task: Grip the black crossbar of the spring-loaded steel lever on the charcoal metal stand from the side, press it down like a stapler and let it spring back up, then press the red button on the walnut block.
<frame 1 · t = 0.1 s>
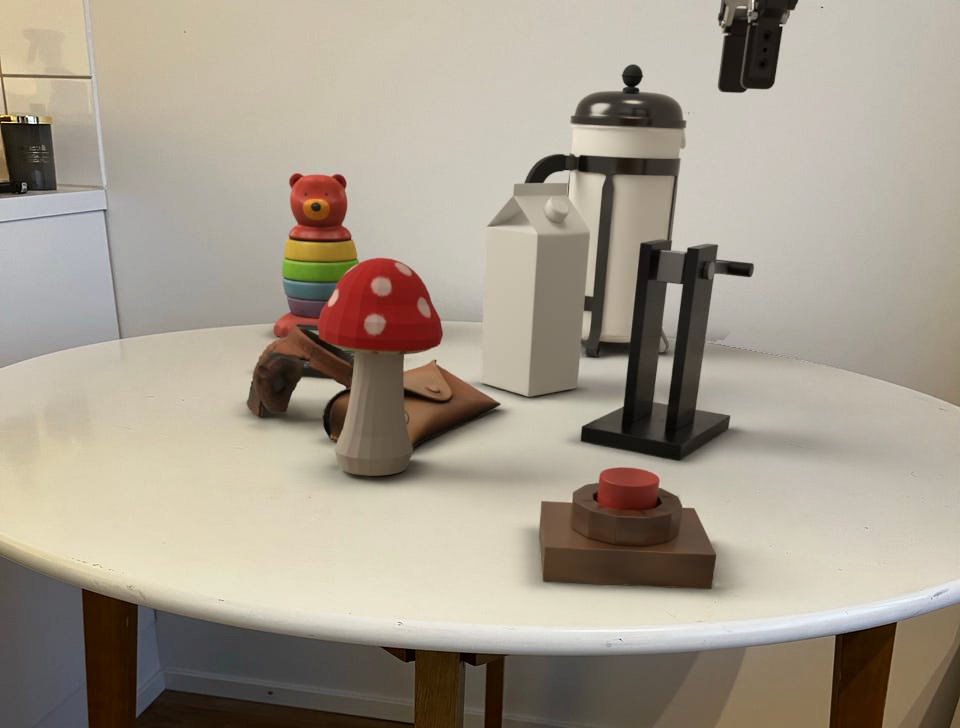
hand: (743, 90, 73), 27 cm above the table, tool pointing down, fingers open, 8 cm apart
lever stand: (656, 435, 89), on the table
calculator: (323, 366, 109), on the table
coffee press: (599, 349, 123), on the table
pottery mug: (298, 415, 91), on the table
stacking bear: (322, 333, 125), on the table
decorative mushroom: (373, 468, 78), on the table
button block: (620, 559, 64), on the table
milk carton: (528, 388, 104), on the table
sunglasses case: (418, 425, 90), on the table
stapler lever: (700, 267, 87), point 14 cm above the table, hinge at -5.0°
red button: (628, 490, 62), point 5 cm above the table, slide at 0.2 cm
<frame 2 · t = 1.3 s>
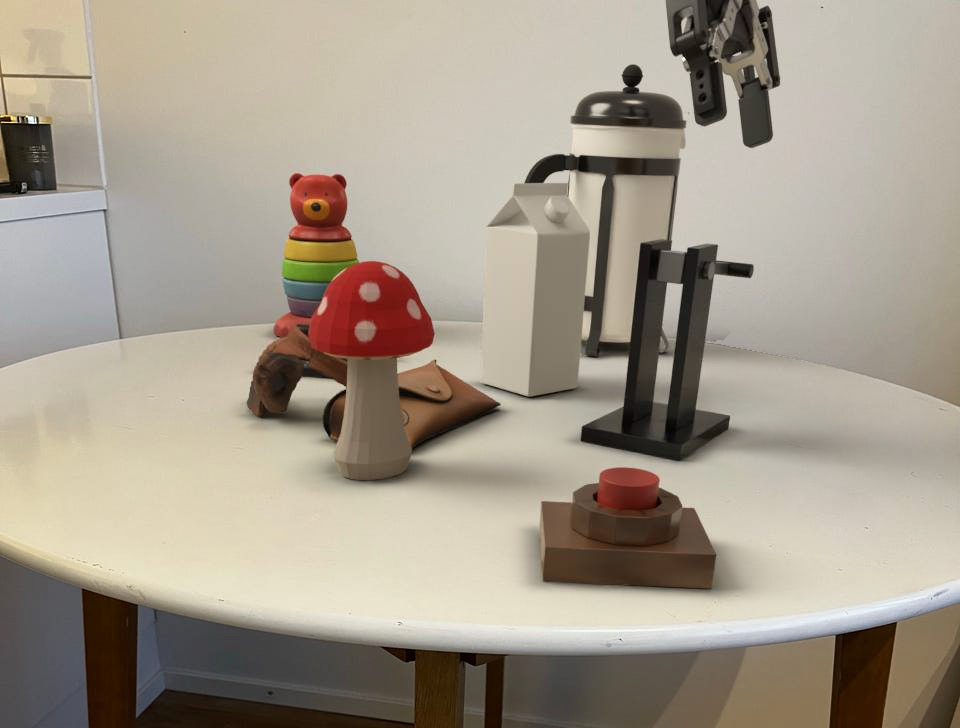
hand: (736, 133, 77), 24 cm above the table, tool tilted 25°, fingers open, 8 cm apart
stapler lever: (700, 267, 87), point 13 cm above the table, hinge at -5.4°
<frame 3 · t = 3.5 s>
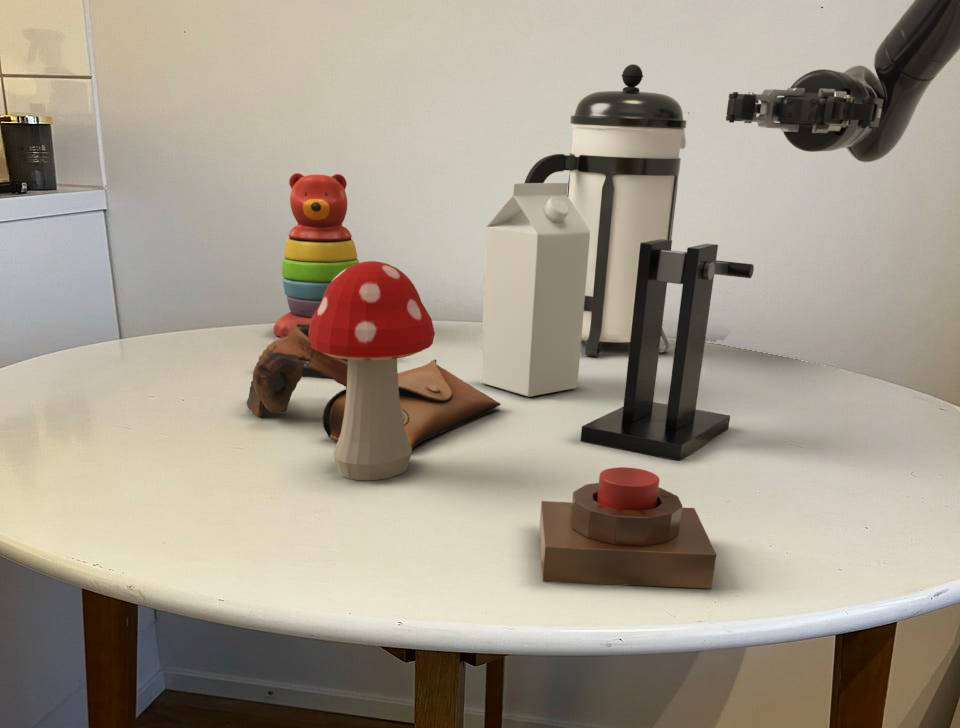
hand: (783, 108, 95), 26 cm above the table, tool horizontal, fingers open, 8 cm apart
nothing on the table moved.
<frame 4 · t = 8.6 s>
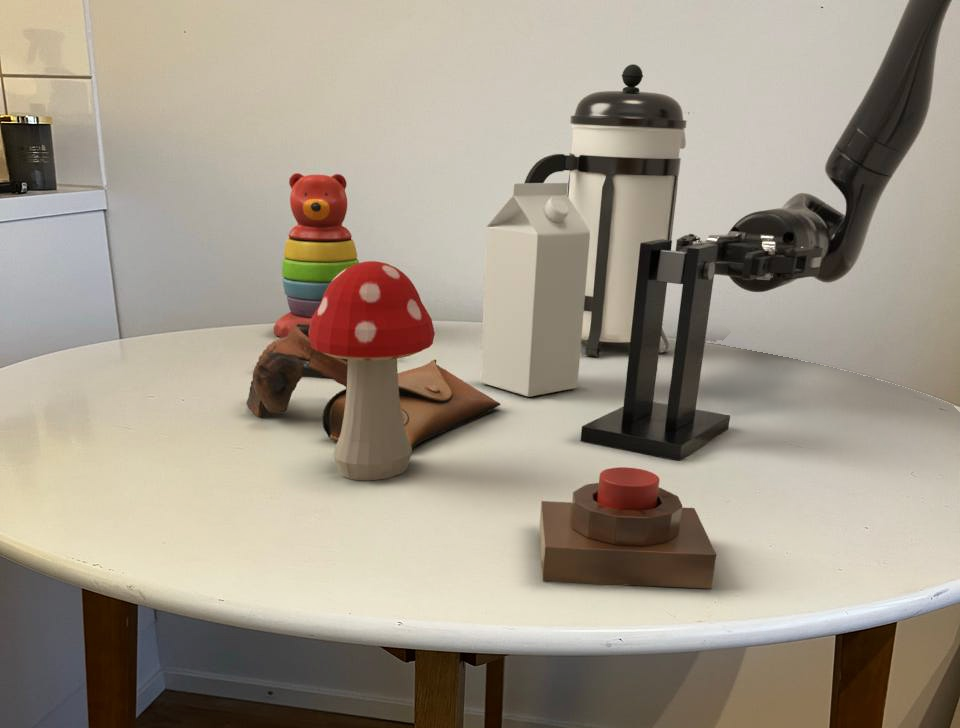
hand: (715, 263, 90), 13 cm above the table, tool horizontal, fingers closed on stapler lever, 5 cm apart
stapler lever: (700, 267, 87), point 13 cm above the table, hinge at -5.4°, touching gripper
everything else where it was.
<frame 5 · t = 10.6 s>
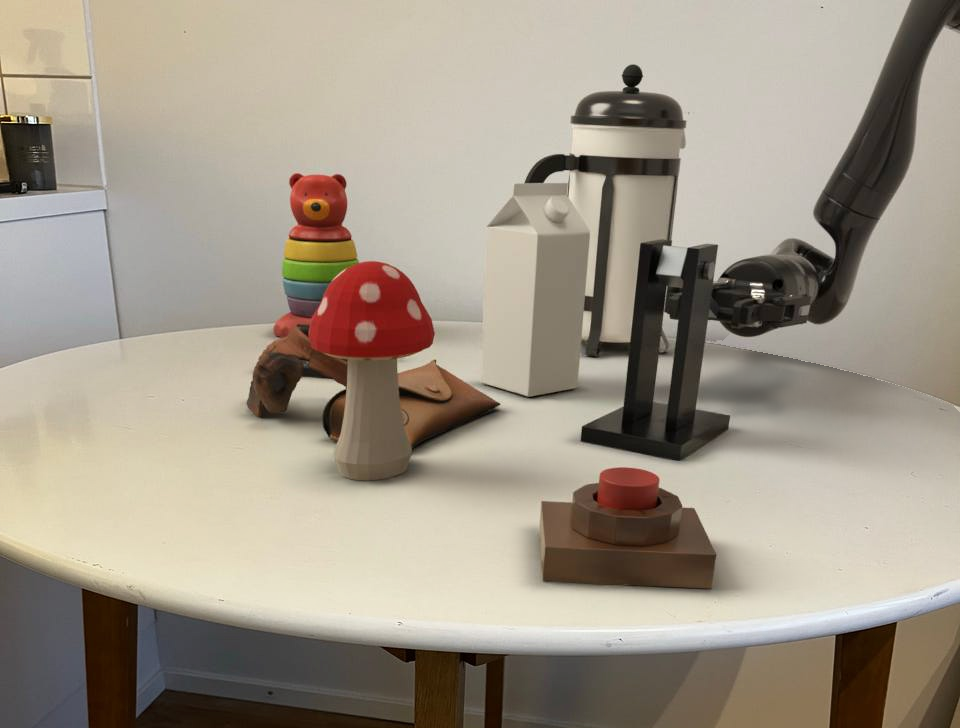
hand: (705, 311, 91), 9 cm above the table, tool horizontal, fingers closed on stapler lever, 5 cm apart
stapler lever: (695, 290, 88), point 12 cm above the table, hinge at -24.5°, touching gripper
everything else where it was.
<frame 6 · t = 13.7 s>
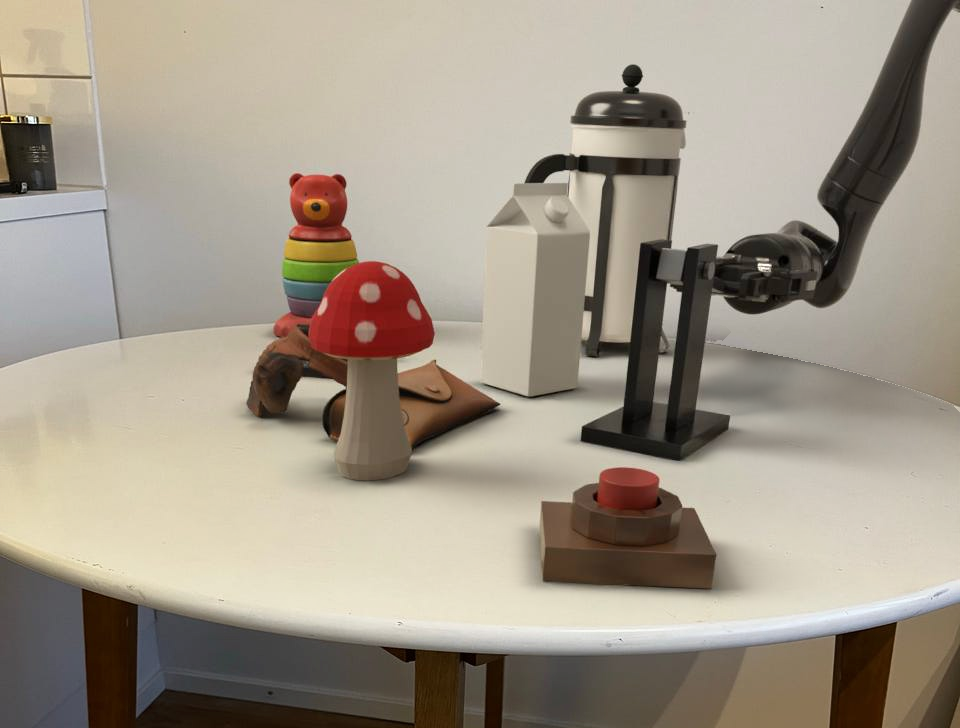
hand: (712, 283, 91), 12 cm above the table, tool horizontal, fingers closed on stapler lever, 5 cm apart
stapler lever: (698, 277, 88), point 13 cm above the table, hinge at -13.3°, touching gripper
everything else where it was.
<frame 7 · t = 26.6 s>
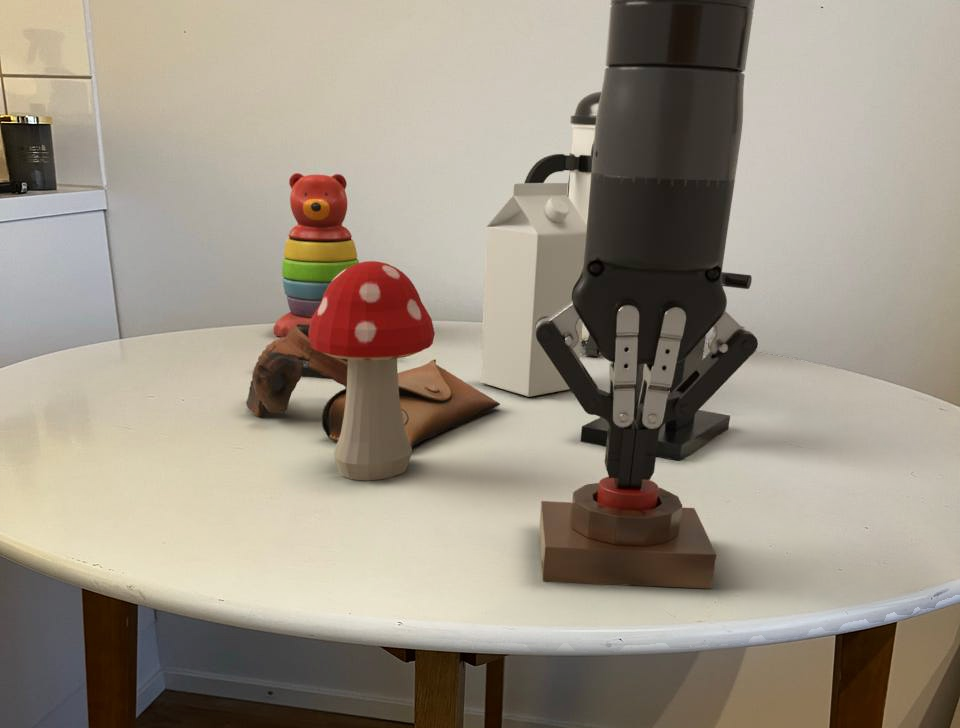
hand: (627, 484, 61), 5 cm above the table, tool pointing down, fingers closed
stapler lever: (699, 273, 88), point 13 cm above the table, hinge at -9.8°
red button: (627, 498, 62), point 4 cm above the table, slide at -0.4 cm, touching gripper
everything else where it was.
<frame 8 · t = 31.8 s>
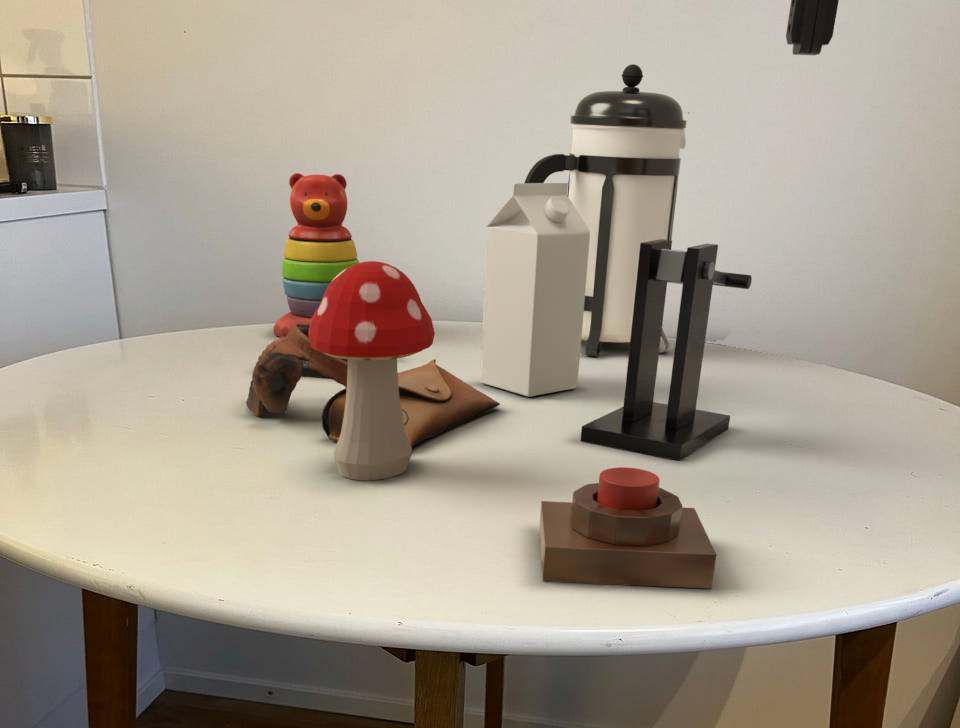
hand: (806, 54, 70), 29 cm above the table, tool pointing down, fingers closed
red button: (628, 490, 62), point 5 cm above the table, slide at 0.2 cm
everything else where it was.
at the end: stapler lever reached -25° during the clip, -10° at the end; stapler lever at -10° (first picture: -5°); red button pushed in 1.1 cm at the most during the clip, back to 0.2 cm at the end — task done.
